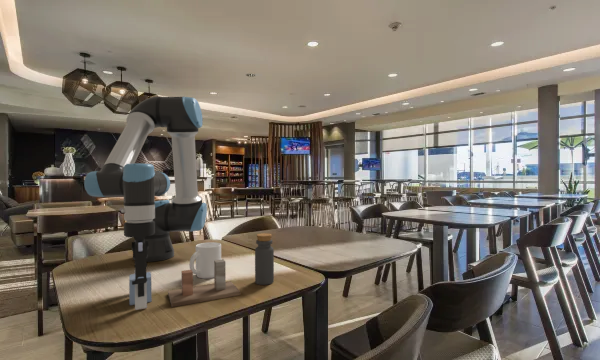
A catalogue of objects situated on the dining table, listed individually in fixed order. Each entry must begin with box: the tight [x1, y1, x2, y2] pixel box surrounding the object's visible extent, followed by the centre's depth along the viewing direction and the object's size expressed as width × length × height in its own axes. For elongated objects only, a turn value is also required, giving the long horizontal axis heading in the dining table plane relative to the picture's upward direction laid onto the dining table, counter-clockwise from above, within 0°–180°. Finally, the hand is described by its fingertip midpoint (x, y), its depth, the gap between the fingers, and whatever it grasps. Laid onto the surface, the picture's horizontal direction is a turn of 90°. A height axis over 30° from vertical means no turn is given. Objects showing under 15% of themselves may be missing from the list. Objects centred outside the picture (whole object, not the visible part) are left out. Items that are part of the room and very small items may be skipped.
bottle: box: [254, 232, 275, 286], centre depth 101 cm, size 6×6×15 cm
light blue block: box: [128, 271, 153, 306], centre depth 87 cm, size 5×5×7 cm
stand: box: [167, 258, 241, 308], centre depth 90 cm, size 10×18×9 cm, turn 118°
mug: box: [188, 241, 222, 280], centre depth 107 cm, size 12×8×10 cm
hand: (140, 299), depth 87 cm, fingers open, 13 cm apart
